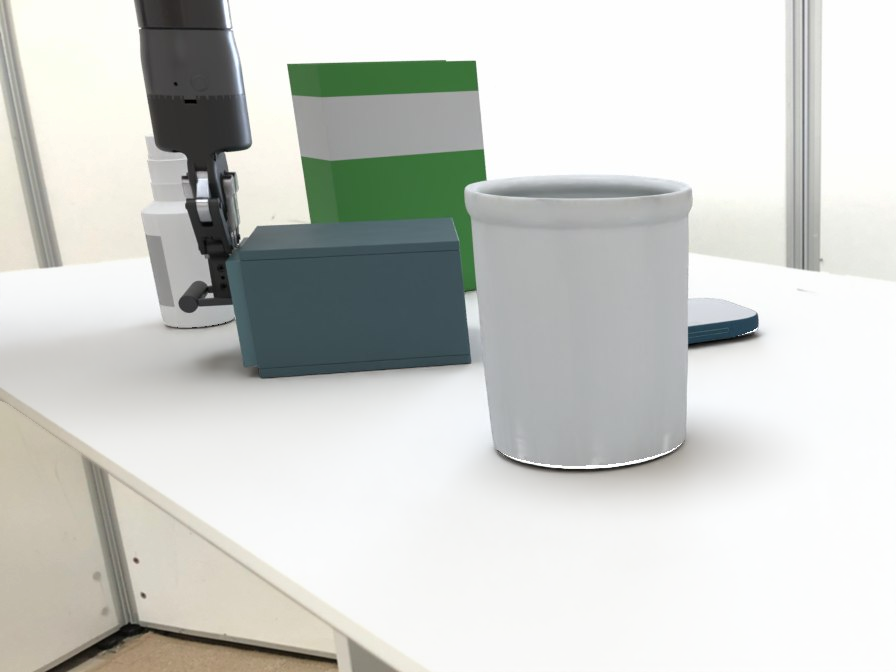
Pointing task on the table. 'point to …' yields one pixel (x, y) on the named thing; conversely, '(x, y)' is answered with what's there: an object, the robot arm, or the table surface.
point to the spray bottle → (175, 243)
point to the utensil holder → (583, 314)
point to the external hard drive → (718, 319)
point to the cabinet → (355, 296)
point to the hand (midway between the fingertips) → (229, 300)
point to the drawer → (238, 299)
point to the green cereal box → (390, 142)
